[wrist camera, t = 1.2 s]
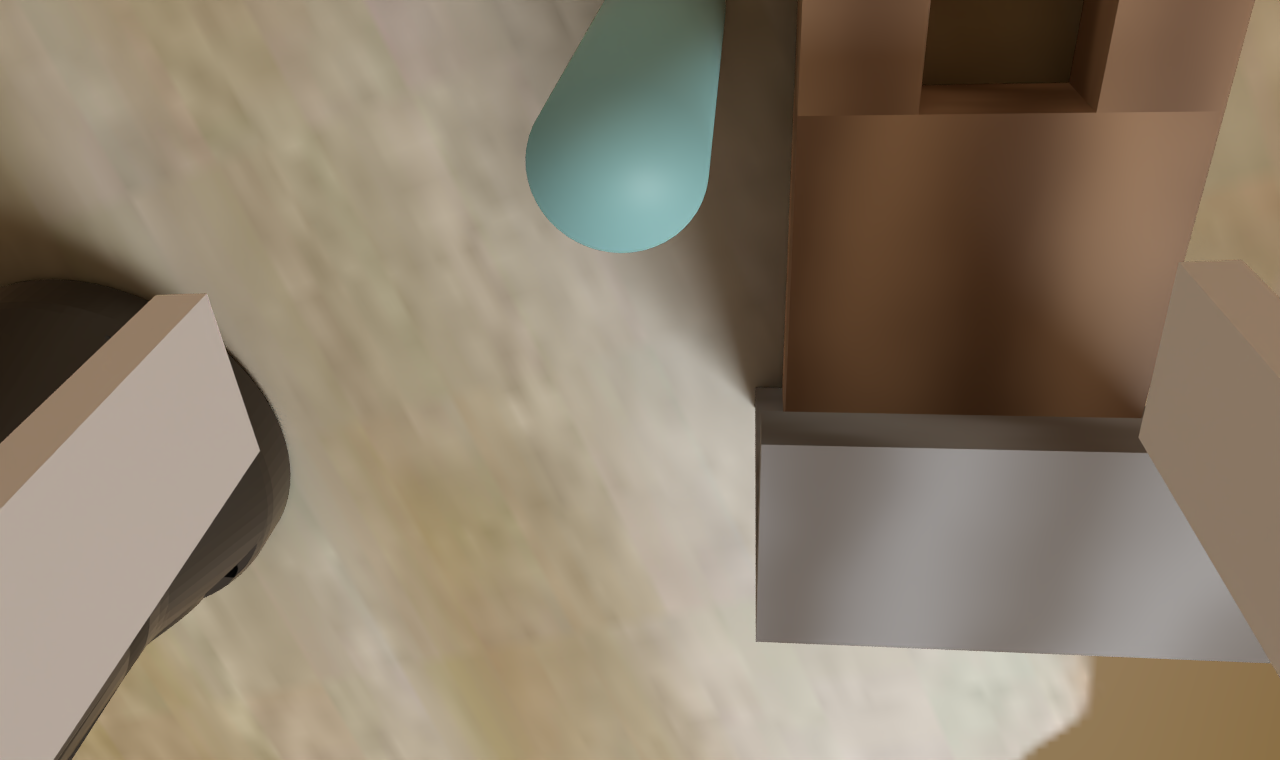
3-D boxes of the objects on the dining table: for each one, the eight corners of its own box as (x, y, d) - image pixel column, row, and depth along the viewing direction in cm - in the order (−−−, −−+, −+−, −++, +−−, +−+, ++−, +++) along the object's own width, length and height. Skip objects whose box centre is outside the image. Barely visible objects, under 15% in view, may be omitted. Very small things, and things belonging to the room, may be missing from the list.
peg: (614, 67, 33) (534, 252, 21) (607, -52, 31) (516, 77, 19) (725, 65, 32) (709, 253, 20) (726, -56, 30) (708, 74, 18)
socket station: (755, 409, 39) (755, 641, 29) (768, -179, 28) (777, -135, 18) (1131, 416, 38) (1270, 663, 28) (1295, -201, 27) (1618, -166, 17)
